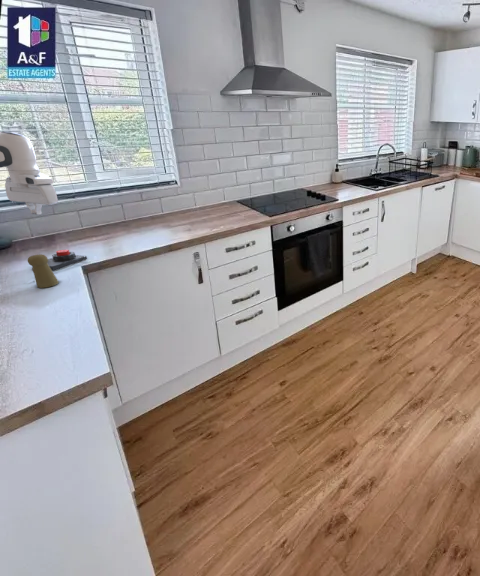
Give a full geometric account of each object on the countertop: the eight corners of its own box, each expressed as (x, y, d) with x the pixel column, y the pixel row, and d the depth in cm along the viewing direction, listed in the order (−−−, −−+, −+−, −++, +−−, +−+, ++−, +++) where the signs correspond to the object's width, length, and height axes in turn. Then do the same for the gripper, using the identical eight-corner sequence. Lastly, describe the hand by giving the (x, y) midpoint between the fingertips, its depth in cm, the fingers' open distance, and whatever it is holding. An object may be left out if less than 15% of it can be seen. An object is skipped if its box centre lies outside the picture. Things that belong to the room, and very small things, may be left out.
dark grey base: (54, 274, 142) (50, 261, 140) (33, 271, 144) (29, 259, 142) (88, 263, 155) (85, 251, 153) (68, 260, 156) (65, 249, 155)
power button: (62, 256, 147) (61, 252, 146) (54, 256, 148) (53, 251, 147) (72, 254, 151) (71, 250, 150) (64, 253, 151) (63, 249, 151)
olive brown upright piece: (46, 288, 129) (34, 259, 124) (32, 287, 130) (19, 257, 125) (63, 281, 134) (51, 253, 130) (49, 280, 135) (37, 252, 131)
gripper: (-5, 176, 140) (7, 213, 145) (38, 180, 136) (49, 217, 141) (14, 175, 145) (24, 210, 151) (56, 179, 142) (65, 215, 147)
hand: (36, 214), depth 146 cm, fingers closed
